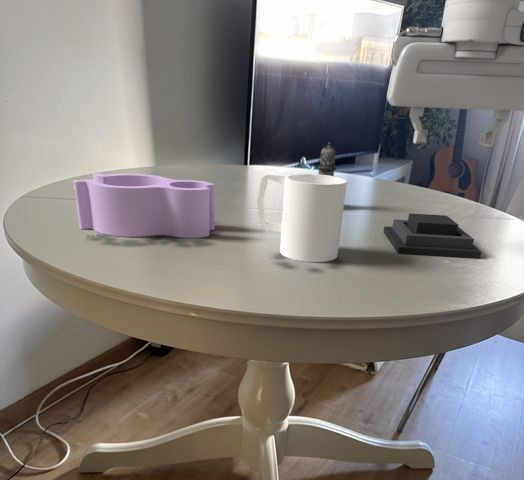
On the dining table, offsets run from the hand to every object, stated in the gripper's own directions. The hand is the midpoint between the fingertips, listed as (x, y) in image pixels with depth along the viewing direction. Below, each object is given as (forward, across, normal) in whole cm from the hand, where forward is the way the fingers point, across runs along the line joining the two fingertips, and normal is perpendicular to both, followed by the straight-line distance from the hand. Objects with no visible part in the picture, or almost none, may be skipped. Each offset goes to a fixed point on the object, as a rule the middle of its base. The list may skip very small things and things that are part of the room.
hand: (452, 144), depth 68 cm
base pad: (+14, -1, 0) cm, 15 cm away
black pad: (+14, -1, 0) cm, 14 cm away
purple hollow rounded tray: (+14, -45, 0) cm, 47 cm away
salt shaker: (+14, -16, +24) cm, 32 cm away
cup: (+14, -22, -8) cm, 27 cm away
